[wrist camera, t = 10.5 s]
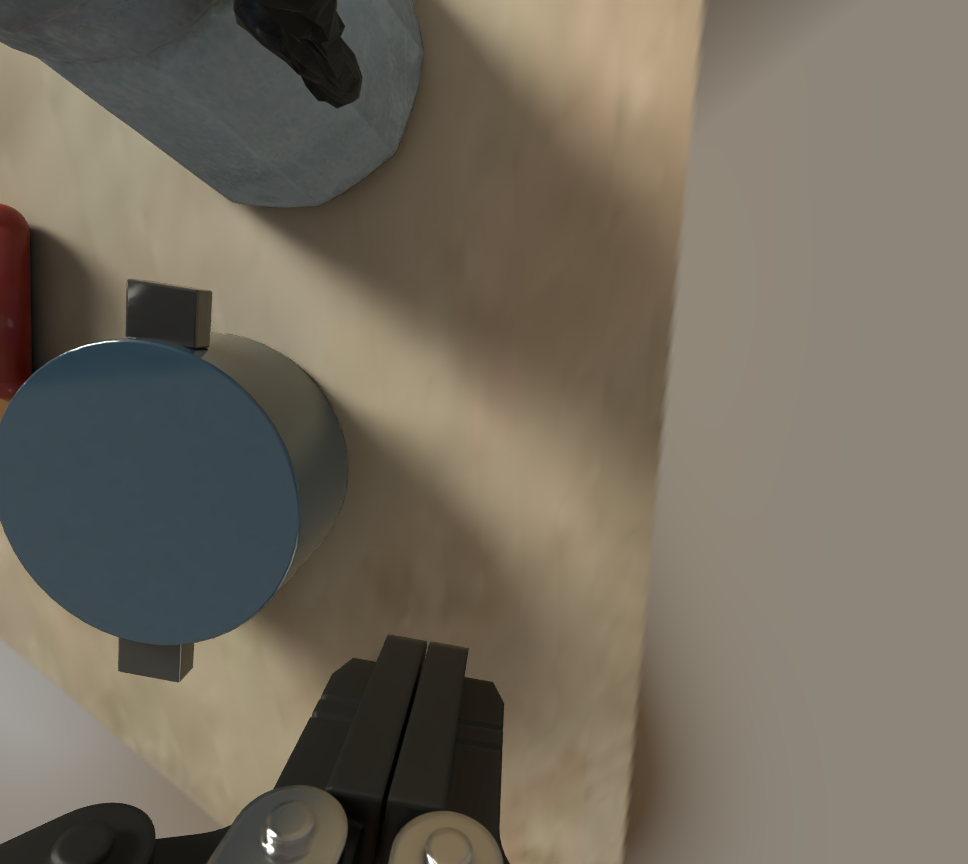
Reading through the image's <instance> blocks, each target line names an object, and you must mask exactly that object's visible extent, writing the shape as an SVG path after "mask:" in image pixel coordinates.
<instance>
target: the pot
mask: <svg viewBox="0 0 968 864" xmlns="http://www.w3.org/2000/svg"><path fill="white" fill-rule="evenodd" d="M211 309H212V291H210V290H204V289H198V288H192V287H186V286H179V285H173V284H167V283H161V282H154V281H148V280H138V279H128V280H127V295H126V337H127V339H113V340H104V341H99V342H94V343H88V344H85V345H82V346H79V347H77V348H74V349H71V350H68V351H66V352H64V353H63V354H61V355H59V356H57V357H55V358H53V359H51V360H50V361H49V362H47V363H46V364H45V365H43V366H42V367H41V368H39V369H38V370H36V371H35V372H34V373H33V374H32V375H31V376H30V377H29V378H28V379H27V380H26V381H25V382H24V383H23V384H22V385H21V387H20V388H19V390H18V391H17V392H16V394H15V395H14V397H13V398H12V399H11V401H10V403H9V405H8V407H7V409H6V411H5V413H4V415H3V417H2V419H1V422H0V521H1V524H2V526H3V529H4V532H5V534H6V536H7V538H8V540H9V542H10V545H11V547H12V549H13V551H14V552H15V554H16V555H17V557H18V559H19V560H20V562H21V563H22V565H23V566H24V568H25V569H26V571H27V572H28V573H29V574H30V576H31V577H32V578H33V579H34V581H35V582H36V583H37V584H38V585H39V586H40V587H41V588H42V589H43V590H44V591H45V592H46V593H47V594H48V595H49V596H50V597H51V598H52V599H53V600H54V601H55V602H57V603H58V604H59V605H60V606H62V607H63V608H64V609H65V610H67V611H68V612H69V613H71V614H72V615H74V616H76V617H77V618H79V619H80V620H82V621H83V622H85V623H87V624H89V625H91V626H93V627H95V628H97V629H99V630H101V631H103V632H106V633H109V634H111V635H114V636H117V637H119V658H118V671H120V672H125V673H130V674H136V675H141V676H147V677H152V678H157V679H163V680H168V681H173V682H180V681H181V680H182V679H183V678H184V677H185V676H186V675H187V674H188V672H189V671H190V670H191V669H192V668H193V656H194V643H196V642H200V641H204V640H208V639H212V638H215V637H218V636H220V635H223V634H225V633H227V632H230V631H232V630H234V629H236V628H237V627H239V626H241V625H242V624H244V623H246V622H247V621H249V620H250V619H251V618H252V617H254V616H255V615H256V614H257V613H259V612H260V611H261V610H262V609H263V608H264V607H265V606H266V605H267V604H268V602H269V601H270V600H271V599H272V598H273V597H274V596H275V595H276V594H277V593H278V591H279V590H280V589H281V588H282V587H283V586H284V585H285V583H286V582H287V581H288V580H289V579H290V578H291V577H292V575H293V574H294V573H295V572H296V571H297V570H298V569H299V568H300V566H301V565H302V564H303V563H304V562H305V561H306V560H307V558H308V557H309V556H310V555H311V554H312V553H313V552H314V551H315V549H316V548H317V547H318V546H319V545H320V544H321V543H322V541H323V540H324V539H325V538H326V536H327V535H328V533H329V532H330V530H331V529H332V527H333V526H334V524H335V522H336V520H337V518H338V516H339V513H340V511H341V508H342V505H343V501H344V498H345V493H346V487H347V478H348V462H347V451H346V446H345V442H344V437H343V433H342V431H341V428H340V425H339V422H338V420H337V417H336V415H335V413H334V411H333V409H332V407H331V405H330V403H329V402H328V400H327V399H326V397H325V396H324V394H323V393H322V391H321V390H320V388H319V387H318V386H317V385H316V384H315V383H314V381H313V380H312V379H311V378H310V377H309V376H308V375H307V374H306V373H305V372H304V371H303V370H302V369H301V368H300V367H298V366H297V365H296V364H295V363H294V362H292V361H291V360H290V359H288V358H287V357H285V356H284V355H282V354H281V353H279V352H278V351H276V350H274V349H272V348H270V347H268V346H266V345H264V344H262V343H259V342H256V341H254V340H251V339H248V338H244V337H240V336H236V335H231V334H222V333H210V329H211Z"/></svg>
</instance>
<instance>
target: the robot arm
mask: <svg viewBox="0 0 968 864" xmlns="http://www.w3.org/2000/svg"><path fill="white" fill-rule="evenodd" d="M426 650H427V641H424V640H418V639H412V638H407V637H401V636H395V635H388V636H387V638H386V640H385V642H384V645H383V647H382V650H381V652H380V655H379V657H378V660H377V662H373V661H368V660H362V659H356V658H352V659H351V660H350V661H349V662H347V663H346V664H345V665H343V666H342V667H341V668H339V669H338V670H337V671H336V672H334V673H333V674H332V676H331V678H330V680H329V682H328V684H327V686H326V688H325V689H324V691H323V693H322V696H321V699H319V701H318V703H317V705H316V707H315V709H314V711H313V713H312V717H310V719H309V721H308V723H307V725H306V727H305V729H304V730H303V732H302V734H301V736H300V738H299V740H298V742H297V744H296V746H295V748H294V750H293V752H292V754H291V756H290V758H289V760H288V762H287V764H286V766H285V768H284V769H283V771H282V773H281V775H280V777H279V779H278V781H277V783H276V785H275V787H274V789H273V790H271V791H268V792H266V793H264V794H262V795H260V796H259V797H257V798H256V799H254V800H253V801H252V802H250V803H249V804H248V805H247V806H246V807H245V808H244V809H243V810H242V811H241V812H240V814H239V815H238V816H237V817H236V819H235V820H234V822H233V824H232V825H230V826H228V827H225V828H223V829H219V830H216V831H213V832H208V833H202V834H195V835H186V836H178V837H170V838H161V839H155V829H154V825H153V823H152V820H151V819H150V818H149V817H148V815H147V814H146V813H144V812H143V811H142V810H140V809H138V808H136V807H134V806H131V805H127V804H123V803H101V804H96V805H91V806H87V807H83V808H80V809H77V810H74V811H72V812H70V813H67V814H65V815H63V816H61V817H58V818H56V819H54V820H52V821H50V822H48V823H45V824H43V825H41V826H39V827H37V828H35V829H32V830H30V831H28V832H26V833H24V834H22V835H20V836H18V837H15V838H13V839H11V840H9V841H7V842H4V843H3V844H0V864H510V863H509V861H508V860H507V858H506V856H505V853H504V851H503V848H502V845H501V840H500V831H499V825H500V798H501V771H502V744H503V717H504V702H503V700H502V699H501V697H500V695H499V693H498V691H497V689H496V687H495V685H494V683H493V682H490V681H484V680H478V679H473V678H467V677H465V670H466V663H467V656H468V650H469V648H466V647H460V646H454V645H448V644H442V643H437V642H431V641H430V643H429V647H428V651H427V654H426ZM425 657H426V658H425Z"/></svg>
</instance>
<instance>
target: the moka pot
mask: <svg viewBox="0 0 968 864" xmlns="http://www.w3.org/2000/svg"><path fill="white" fill-rule="evenodd" d="M0 42H2V43H4V44H5V45H7V46H9V47H11V48H13V49H16V50H19V51H22V52H24V53H27V54H30V55H32V56H35V57H37V58H39V59H40V60H41V61H43V62H44V63H45V64H47V65H48V66H49V67H51V68H52V69H53V70H54V71H56V72H57V73H58V74H60V75H61V76H62V77H64V78H65V79H66V80H68V81H69V82H70V83H72V84H73V85H74V86H76V87H77V88H78V89H80V90H81V91H82V92H84V93H85V94H86V95H88V96H89V97H90V98H92V99H93V100H94V101H96V102H97V103H98V104H100V105H101V106H103V107H104V108H105V109H107V110H108V111H109V112H111V113H112V114H113V115H115V116H116V117H118V118H119V119H120V120H122V121H123V122H125V123H126V124H127V125H129V126H130V127H131V128H133V129H134V130H135V131H137V132H138V133H139V134H141V135H142V136H144V137H145V138H146V139H148V140H149V141H150V142H152V143H153V144H154V145H156V146H157V147H158V148H160V149H161V150H162V151H164V152H165V153H166V154H168V155H169V156H170V157H172V158H173V159H174V160H176V161H177V162H178V163H180V164H181V165H182V166H184V167H185V168H186V169H188V170H189V171H190V172H192V173H193V174H194V175H196V176H197V177H198V178H200V179H201V180H202V181H204V182H205V183H207V184H208V185H209V186H211V187H212V188H213V189H215V190H216V191H218V192H219V193H220V194H222V195H223V196H225V197H226V198H227V199H229V200H230V201H232V202H235V203H240V204H245V205H254V206H262V207H274V208H284V207H303V206H318V205H321V204H323V203H326V202H328V201H330V200H332V199H333V198H335V197H337V196H339V195H341V194H342V193H344V192H346V191H347V190H348V189H349V188H350V187H352V186H353V185H355V184H357V183H358V182H360V181H361V180H362V179H364V178H365V177H367V176H368V175H369V174H370V173H372V172H373V171H374V170H375V169H376V168H377V167H379V166H380V165H381V164H382V163H384V162H385V161H387V160H388V159H390V158H392V157H393V155H394V154H395V152H396V150H397V149H398V146H399V143H400V140H401V138H402V136H403V133H404V131H405V129H406V126H407V123H408V119H409V115H410V113H411V111H412V109H413V105H414V101H415V97H416V93H417V90H418V86H419V78H420V73H421V67H422V61H423V54H424V49H423V43H422V37H421V33H420V29H419V25H418V21H417V17H416V13H415V9H414V6H413V2H412V0H0Z"/></svg>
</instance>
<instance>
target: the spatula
mask: <svg viewBox="0 0 968 864" xmlns="http://www.w3.org/2000/svg"><path fill="white" fill-rule="evenodd" d="M31 375H32V348H31V294H30V241H29V226H28V223H27V221H26V220H25V218H24V217H23V216H22V214H21V213H19V212H18V211H17V210H15V209H14V208H12V207H10V206H7V205H3V204H0V422H1V419H2V417H3V415H4V413H5V411H6V409H7V407H8V405H9V403H10V401H11V399H12V398H13V397H14V395H15V394H16V392H17V391H18V390H19V388H20V387H21V385H22V384H23V383H24V382H25V381H26V380H27V379H28V378H29V377H30V376H31Z"/></svg>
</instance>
